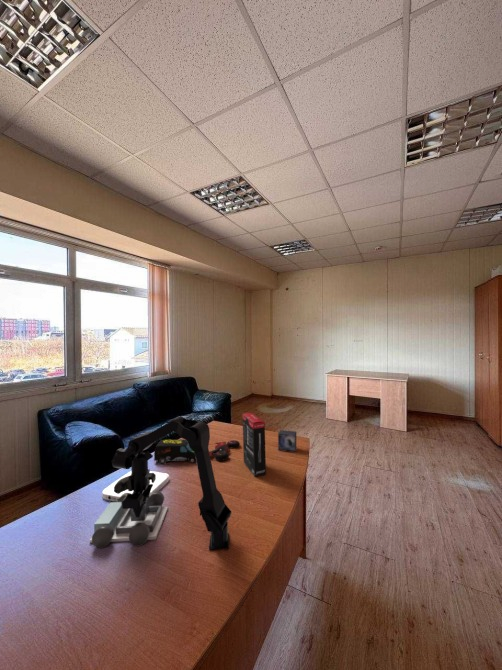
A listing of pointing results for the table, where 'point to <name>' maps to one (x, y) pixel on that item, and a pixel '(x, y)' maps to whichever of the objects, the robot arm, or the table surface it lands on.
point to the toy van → (173, 451)
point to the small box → (287, 440)
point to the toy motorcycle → (223, 449)
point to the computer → (111, 495)
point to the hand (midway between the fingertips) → (140, 512)
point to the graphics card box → (254, 444)
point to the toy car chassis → (129, 523)
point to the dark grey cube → (143, 512)
